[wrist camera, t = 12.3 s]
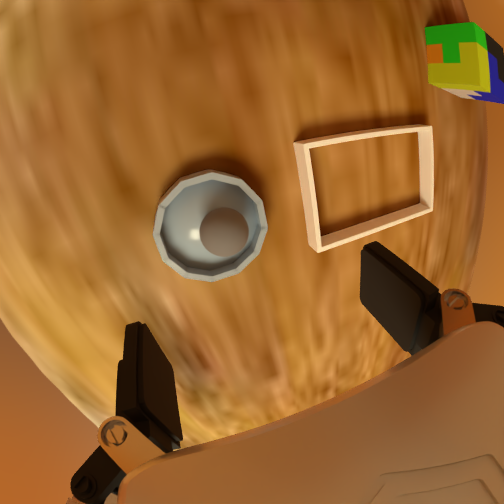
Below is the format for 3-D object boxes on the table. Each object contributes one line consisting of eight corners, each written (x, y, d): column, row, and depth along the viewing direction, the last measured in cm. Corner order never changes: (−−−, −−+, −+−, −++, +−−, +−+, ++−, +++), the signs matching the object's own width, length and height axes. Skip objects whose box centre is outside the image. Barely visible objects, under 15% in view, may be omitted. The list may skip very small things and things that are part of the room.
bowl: (140, 190, 28) (138, 195, 26) (248, 157, 30) (254, 160, 28) (175, 284, 34) (176, 294, 32) (268, 253, 35) (275, 261, 34)
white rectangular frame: (293, 142, 30) (303, 144, 28) (419, 124, 33) (431, 126, 31) (308, 244, 37) (317, 252, 34) (421, 205, 40) (432, 210, 38)
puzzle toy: (461, 97, 33) (506, 104, 25) (428, 82, 31) (480, 85, 22) (458, 47, 29) (502, 48, 20) (424, 27, 27) (473, 22, 18)
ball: (184, 215, 28) (212, 224, 25) (222, 197, 31) (253, 203, 27) (198, 257, 31) (225, 272, 27) (233, 237, 33) (263, 248, 30)
